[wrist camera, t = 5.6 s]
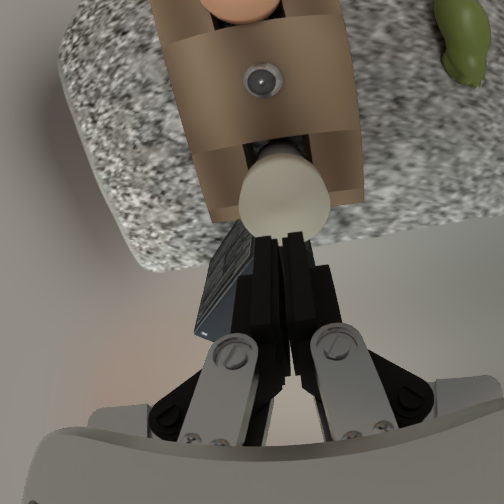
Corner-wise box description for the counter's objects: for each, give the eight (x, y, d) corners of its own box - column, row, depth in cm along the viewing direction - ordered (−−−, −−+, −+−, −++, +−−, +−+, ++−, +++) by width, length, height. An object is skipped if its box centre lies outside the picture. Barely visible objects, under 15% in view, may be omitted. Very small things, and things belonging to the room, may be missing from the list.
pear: (495, -2, 8) (502, 95, 14) (461, -6, 11) (470, 79, 18) (449, -16, 9) (462, 92, 16) (417, -14, 12) (431, 77, 19)
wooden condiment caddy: (311, -29, 14) (322, -53, 9) (346, 174, 25) (364, 202, 20) (172, -2, 16) (145, -18, 11) (223, 192, 27) (212, 223, 22)
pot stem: (278, 60, 15) (281, 56, 11) (285, 93, 16) (290, 100, 13) (241, 66, 15) (232, 65, 12) (248, 100, 17) (242, 108, 13)
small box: (256, 285, 34) (251, 359, 26) (208, 262, 33) (188, 335, 24) (310, 221, 29) (325, 294, 20) (255, 189, 27) (248, 256, 19)
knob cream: (307, 128, 19) (326, 158, 13) (315, 186, 22) (332, 240, 16) (242, 138, 20) (228, 173, 14) (255, 195, 22) (249, 251, 16)
